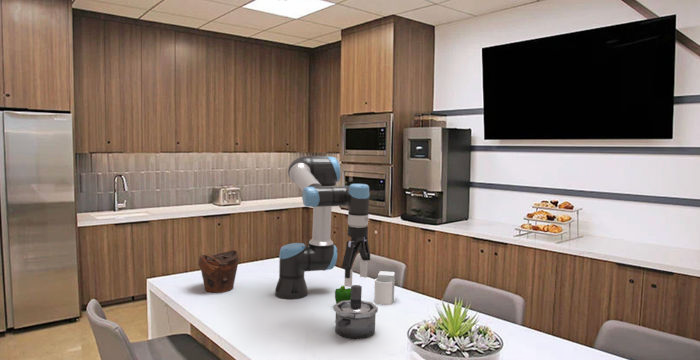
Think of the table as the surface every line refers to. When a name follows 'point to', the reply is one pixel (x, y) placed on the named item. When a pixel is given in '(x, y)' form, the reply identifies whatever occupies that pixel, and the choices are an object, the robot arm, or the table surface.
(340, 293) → the bell pepper
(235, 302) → the table surface
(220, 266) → the chocolate muffin
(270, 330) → the table surface
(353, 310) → the lid
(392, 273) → the supplement box
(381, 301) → the cup
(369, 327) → the pot
